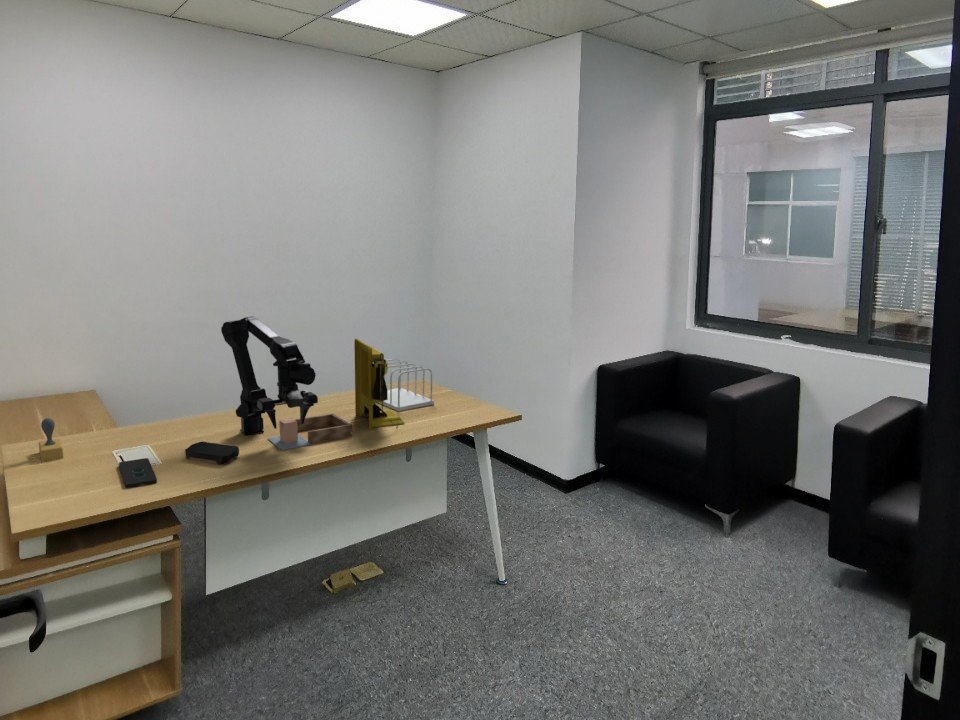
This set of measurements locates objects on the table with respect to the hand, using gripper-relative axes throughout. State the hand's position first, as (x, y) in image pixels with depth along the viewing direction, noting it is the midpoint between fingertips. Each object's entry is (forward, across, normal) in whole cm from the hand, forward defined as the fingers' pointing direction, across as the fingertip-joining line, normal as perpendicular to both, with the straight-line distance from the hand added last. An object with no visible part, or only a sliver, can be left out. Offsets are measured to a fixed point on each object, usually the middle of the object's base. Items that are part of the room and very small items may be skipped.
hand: (288, 426), depth 230 cm
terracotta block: (+5, 0, 0) cm, 5 cm away
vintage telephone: (+6, +37, +5) cm, 38 cm away
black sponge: (+6, -25, -2) cm, 26 cm away
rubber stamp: (+6, -66, +26) cm, 71 cm away
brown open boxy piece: (+6, +12, +3) cm, 14 cm away
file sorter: (+6, +56, +27) cm, 63 cm away
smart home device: (+6, -47, -5) cm, 48 cm away
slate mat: (+6, 0, 0) cm, 6 cm away
